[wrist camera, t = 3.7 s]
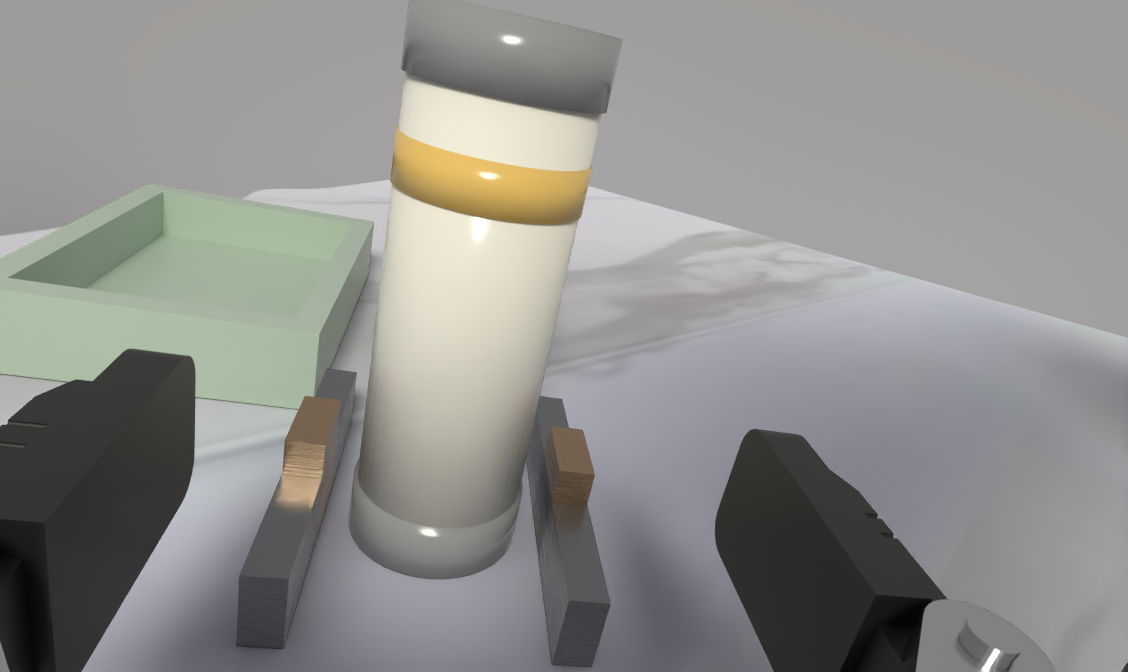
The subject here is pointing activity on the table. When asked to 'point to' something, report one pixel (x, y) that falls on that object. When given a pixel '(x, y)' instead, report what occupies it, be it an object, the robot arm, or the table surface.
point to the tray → (188, 293)
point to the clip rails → (306, 486)
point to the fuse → (472, 276)
